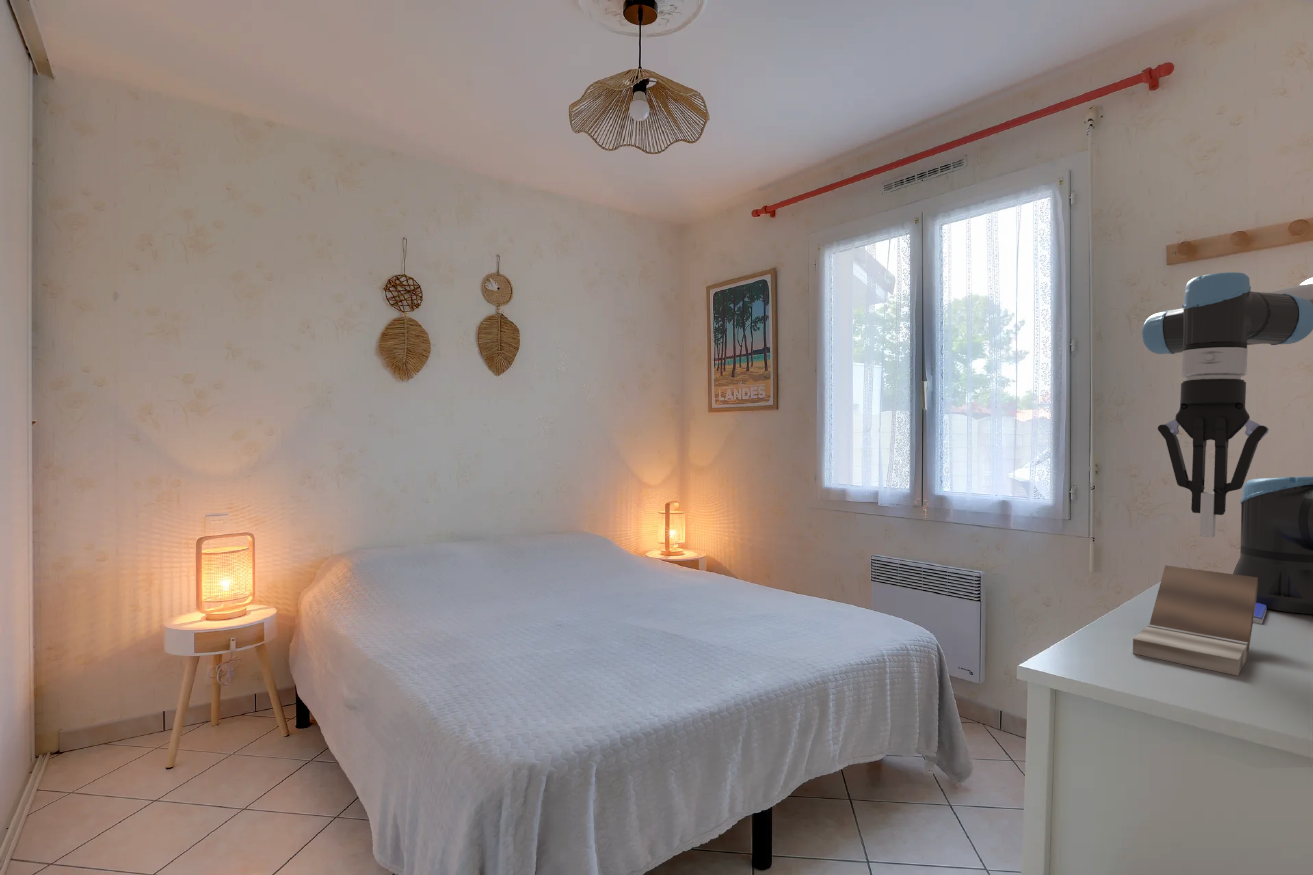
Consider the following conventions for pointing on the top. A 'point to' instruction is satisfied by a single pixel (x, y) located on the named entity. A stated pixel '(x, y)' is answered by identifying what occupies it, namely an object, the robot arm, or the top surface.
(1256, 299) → the robot arm
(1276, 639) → the top surface
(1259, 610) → the hard drive
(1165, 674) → the top surface
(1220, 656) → the grey oak plank
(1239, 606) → the walnut plank
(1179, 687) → the top surface
